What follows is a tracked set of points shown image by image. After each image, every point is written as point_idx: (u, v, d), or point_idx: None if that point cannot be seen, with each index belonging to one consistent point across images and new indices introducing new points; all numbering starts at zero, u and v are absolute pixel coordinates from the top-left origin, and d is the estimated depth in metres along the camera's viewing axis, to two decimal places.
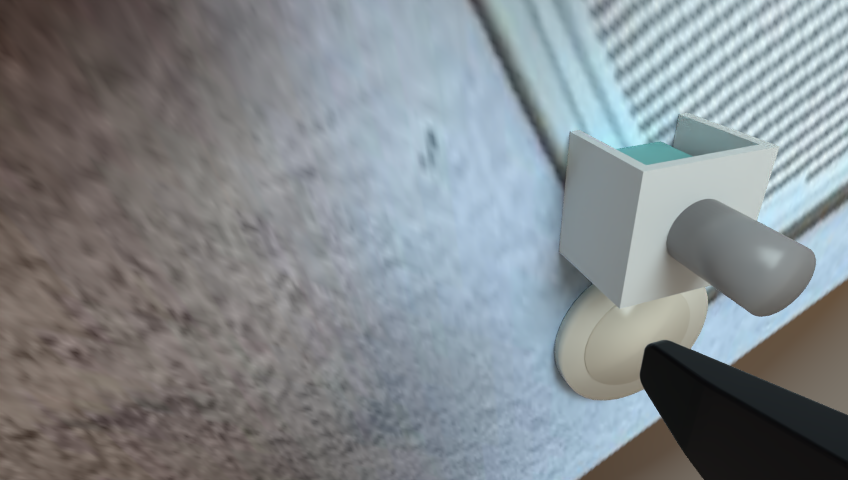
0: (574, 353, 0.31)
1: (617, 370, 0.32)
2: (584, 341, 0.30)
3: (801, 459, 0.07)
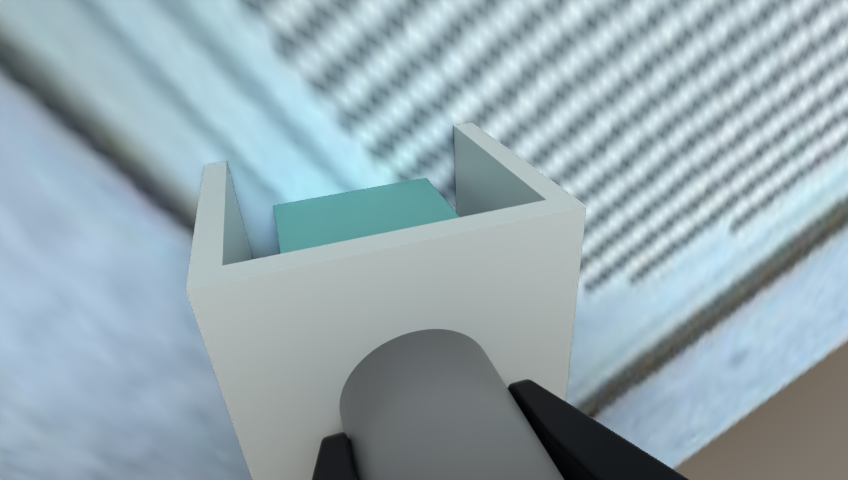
0: None
1: None
2: None
3: None
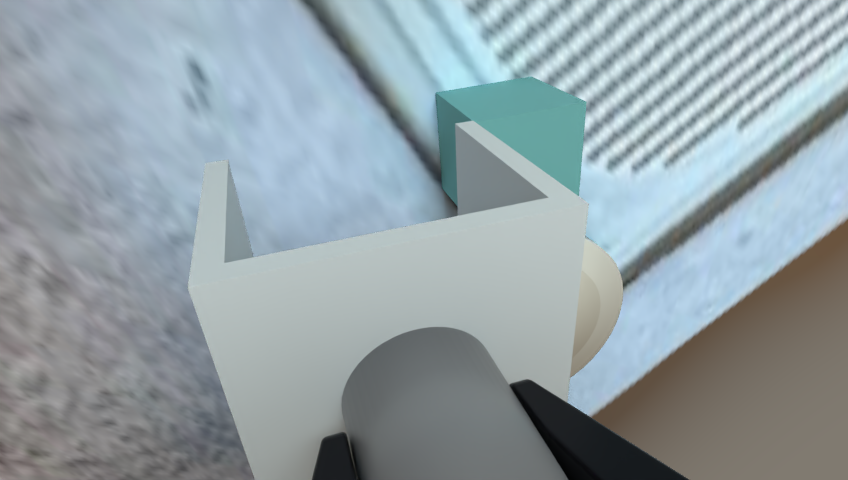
0: None
1: None
2: None
3: None
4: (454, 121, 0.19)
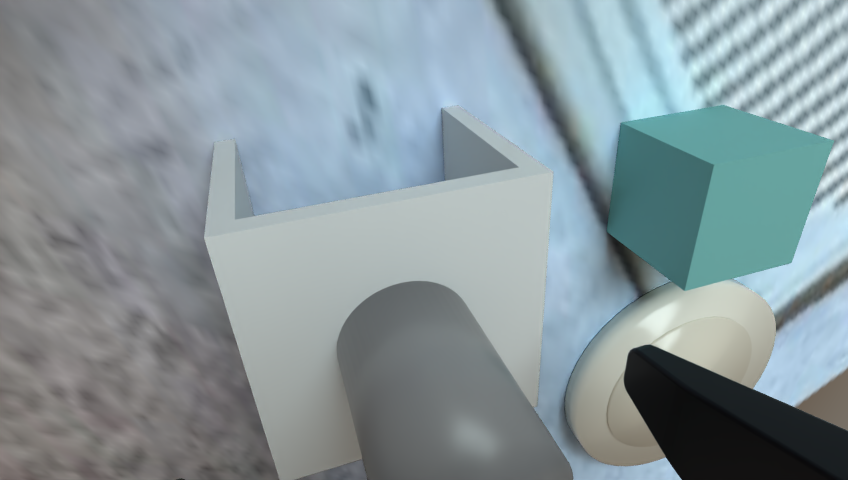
0: (593, 409, 0.22)
1: None
2: (607, 393, 0.22)
3: (780, 467, 0.07)
4: (658, 159, 0.15)
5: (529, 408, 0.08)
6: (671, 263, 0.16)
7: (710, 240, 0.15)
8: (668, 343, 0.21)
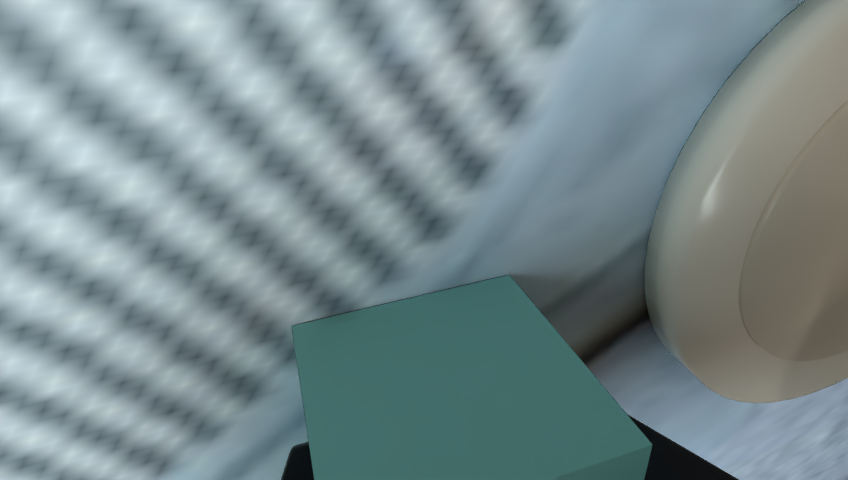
0: (817, 373, 0.13)
1: None
2: (801, 363, 0.12)
3: None
4: None
5: None
6: None
7: None
8: (765, 303, 0.11)
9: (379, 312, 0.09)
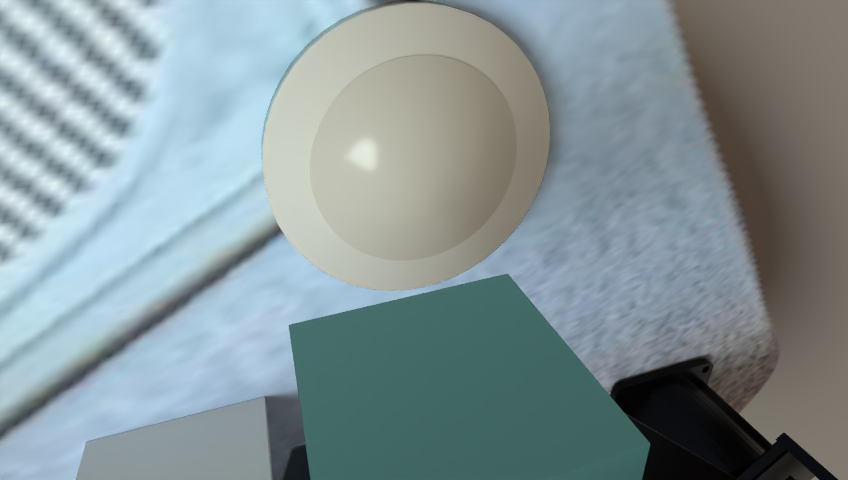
0: (419, 272, 0.20)
1: (478, 188, 0.19)
2: (400, 263, 0.19)
3: None
4: None
5: None
6: None
7: None
8: (339, 215, 0.17)
9: (377, 311, 0.09)
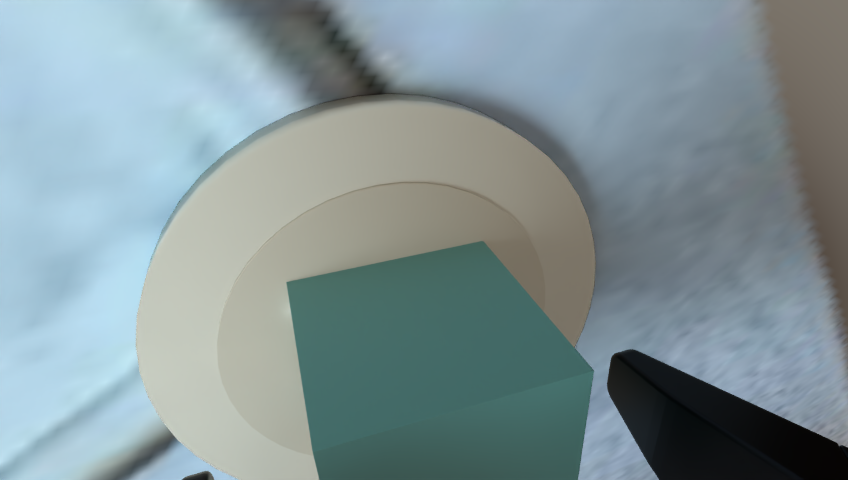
0: None
1: None
2: None
3: (759, 475, 0.07)
4: None
5: None
6: None
7: None
8: (273, 417, 0.11)
9: (365, 270, 0.10)
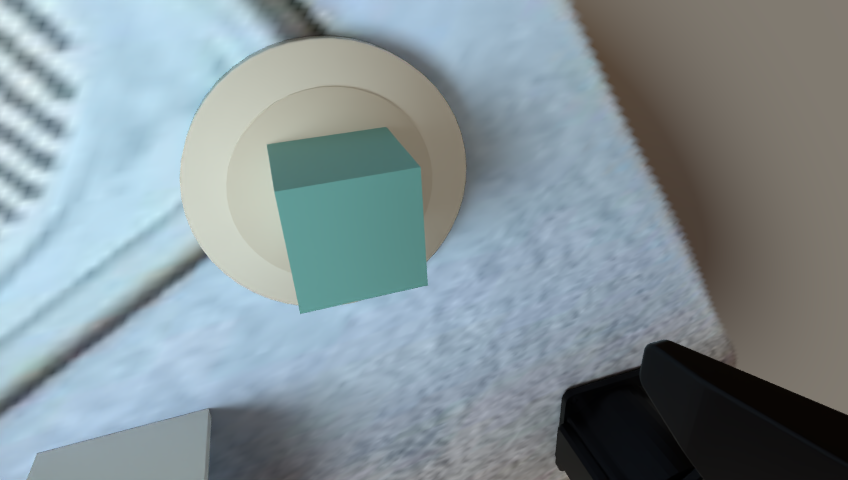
0: None
1: None
2: None
3: (801, 459, 0.07)
4: None
5: None
6: None
7: (376, 283, 0.16)
8: (260, 238, 0.18)
9: (312, 139, 0.17)
